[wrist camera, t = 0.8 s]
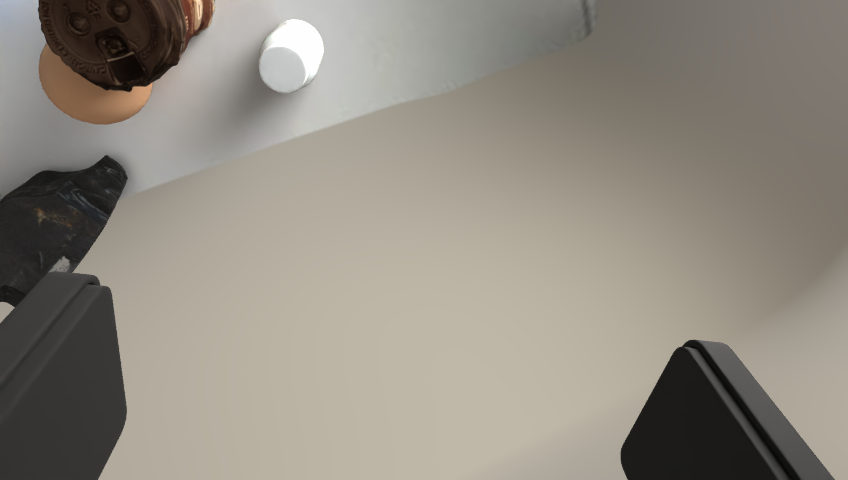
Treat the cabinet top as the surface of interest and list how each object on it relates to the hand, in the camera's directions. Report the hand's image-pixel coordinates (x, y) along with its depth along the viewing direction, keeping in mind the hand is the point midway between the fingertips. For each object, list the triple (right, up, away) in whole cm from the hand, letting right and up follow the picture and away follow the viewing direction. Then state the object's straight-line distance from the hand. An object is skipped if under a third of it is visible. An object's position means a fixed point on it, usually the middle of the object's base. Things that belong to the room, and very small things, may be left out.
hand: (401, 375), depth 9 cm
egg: (-25, +17, +36) cm, 47 cm away
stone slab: (-37, +5, +44) cm, 58 cm away
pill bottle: (-10, +19, +37) cm, 42 cm away
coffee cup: (-19, +22, +34) cm, 45 cm away
